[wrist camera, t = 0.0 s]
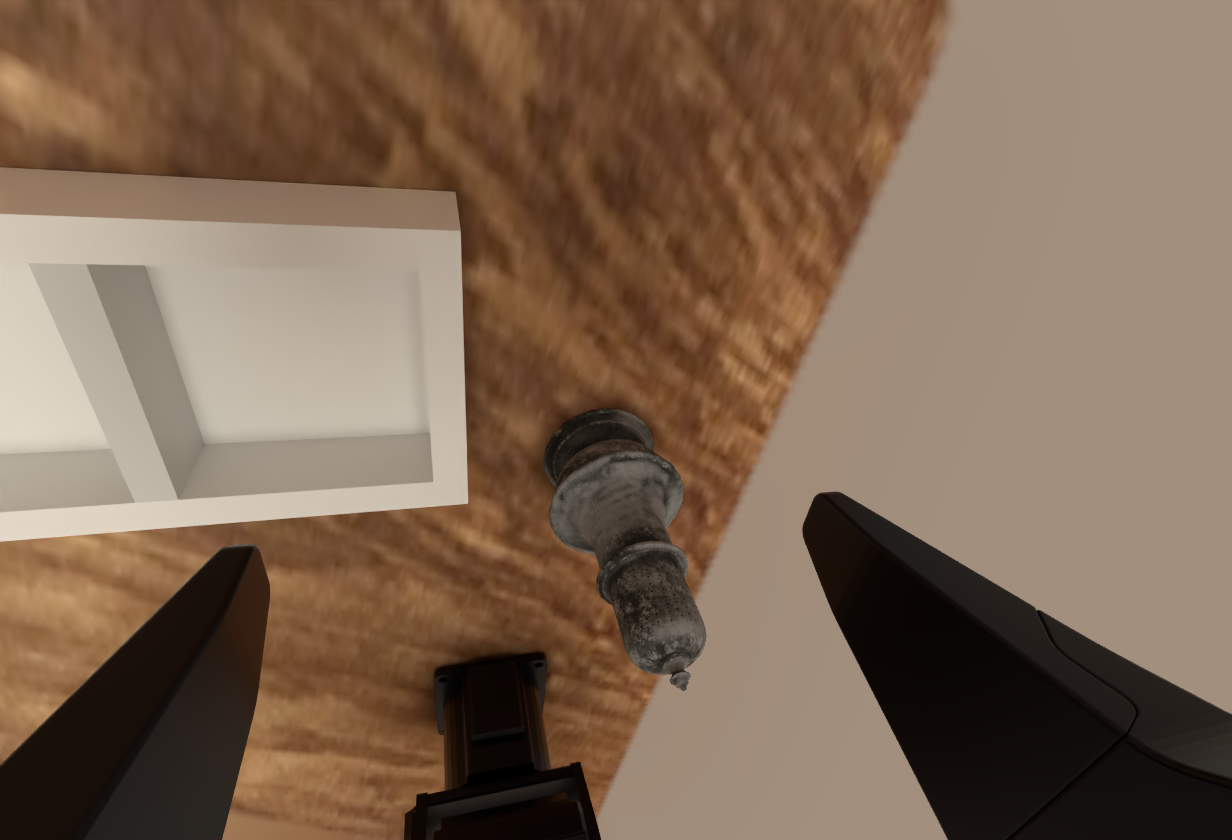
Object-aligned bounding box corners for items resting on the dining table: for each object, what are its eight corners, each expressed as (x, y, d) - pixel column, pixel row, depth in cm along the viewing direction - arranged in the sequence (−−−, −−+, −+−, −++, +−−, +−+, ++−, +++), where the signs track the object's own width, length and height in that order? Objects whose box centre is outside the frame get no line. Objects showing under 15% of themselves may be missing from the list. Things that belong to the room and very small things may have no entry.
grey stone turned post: (610, 379, 26) (713, 604, 17) (681, 450, 30) (800, 670, 20) (510, 459, 27) (554, 712, 18) (590, 519, 31) (662, 756, 21)
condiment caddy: (463, 440, 26) (468, 503, 23) (-124, 471, 21) (-222, 559, 18) (455, 191, 20) (460, 231, 17) (-365, 147, 15) (-576, 192, 12)
